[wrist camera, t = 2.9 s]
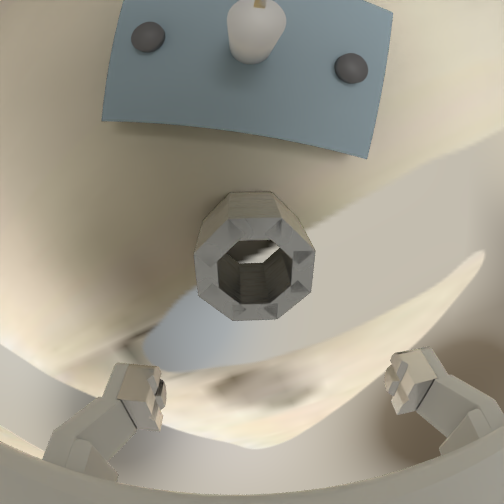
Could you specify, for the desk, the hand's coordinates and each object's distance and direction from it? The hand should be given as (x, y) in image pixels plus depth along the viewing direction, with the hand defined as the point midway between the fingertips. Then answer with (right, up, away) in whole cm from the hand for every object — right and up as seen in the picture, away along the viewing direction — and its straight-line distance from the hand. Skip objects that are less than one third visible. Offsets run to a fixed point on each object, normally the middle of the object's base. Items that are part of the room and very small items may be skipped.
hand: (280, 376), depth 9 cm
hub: (-1, +5, +10) cm, 11 cm away
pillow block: (-1, +15, +5) cm, 16 cm away
